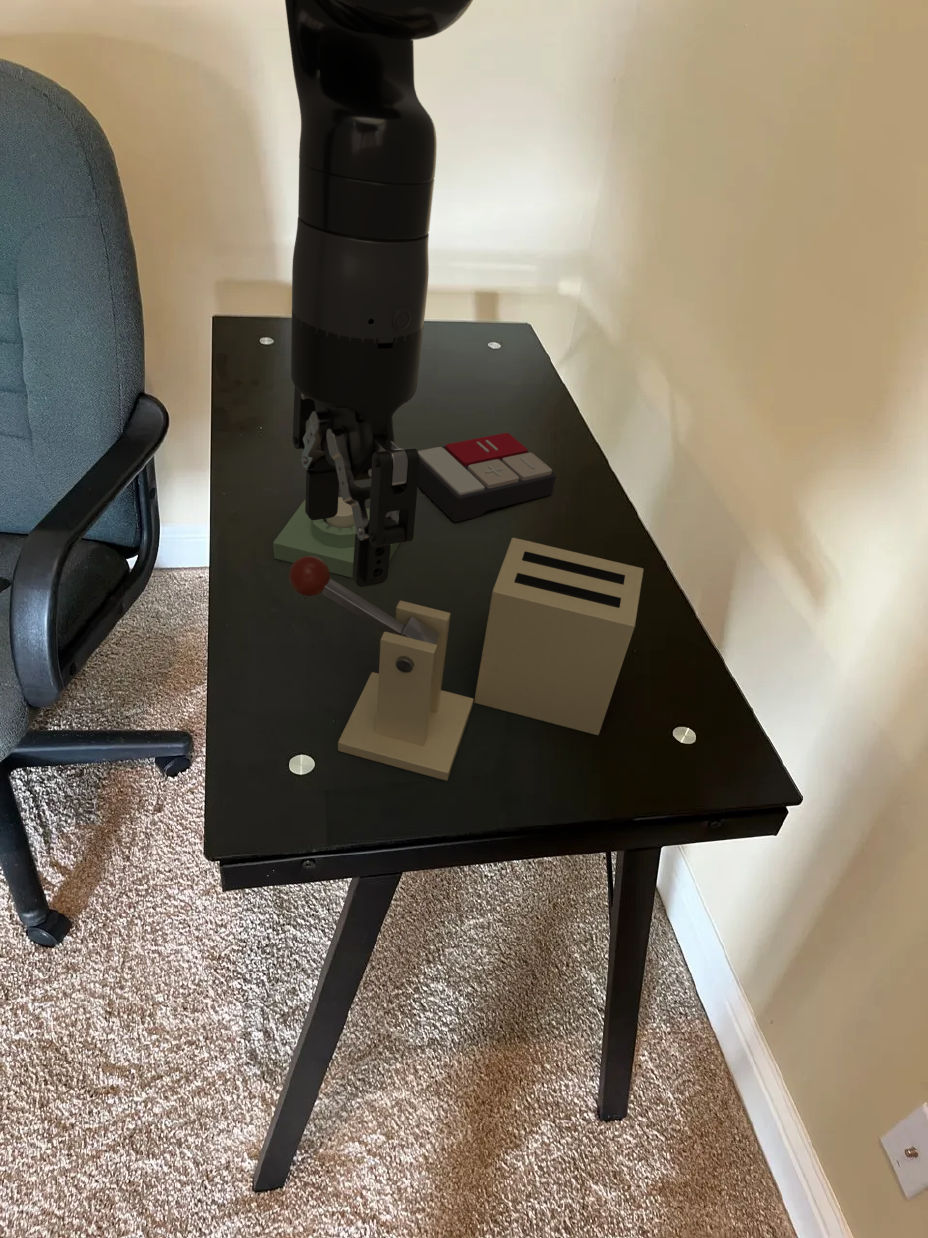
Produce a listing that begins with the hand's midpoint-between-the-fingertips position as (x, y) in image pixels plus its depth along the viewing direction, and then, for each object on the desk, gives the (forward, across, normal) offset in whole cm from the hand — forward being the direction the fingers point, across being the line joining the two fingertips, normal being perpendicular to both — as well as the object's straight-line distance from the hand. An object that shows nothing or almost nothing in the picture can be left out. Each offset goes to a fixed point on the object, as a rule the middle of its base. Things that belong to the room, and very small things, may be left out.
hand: (344, 548), depth 57 cm
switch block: (+20, -29, +13) cm, 37 cm away
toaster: (+21, -1, +22) cm, 31 cm away
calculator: (+18, -34, +34) cm, 51 cm away
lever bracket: (+22, -2, +8) cm, 24 cm away
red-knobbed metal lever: (+11, -5, +3) cm, 12 cm away
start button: (+16, -29, +13) cm, 35 cm away
